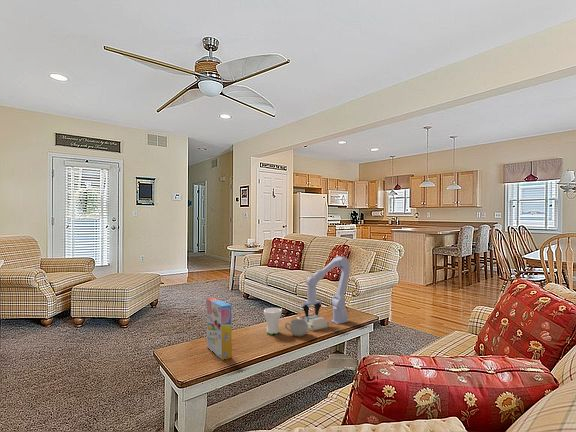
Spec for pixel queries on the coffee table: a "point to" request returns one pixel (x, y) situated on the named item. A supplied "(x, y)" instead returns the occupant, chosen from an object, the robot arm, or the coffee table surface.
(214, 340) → the game box
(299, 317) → the terracotta key
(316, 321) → the ivory key
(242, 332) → the coffee table surface
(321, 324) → the cream drawer frame
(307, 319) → the slate key
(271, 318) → the cup
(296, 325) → the teacup
